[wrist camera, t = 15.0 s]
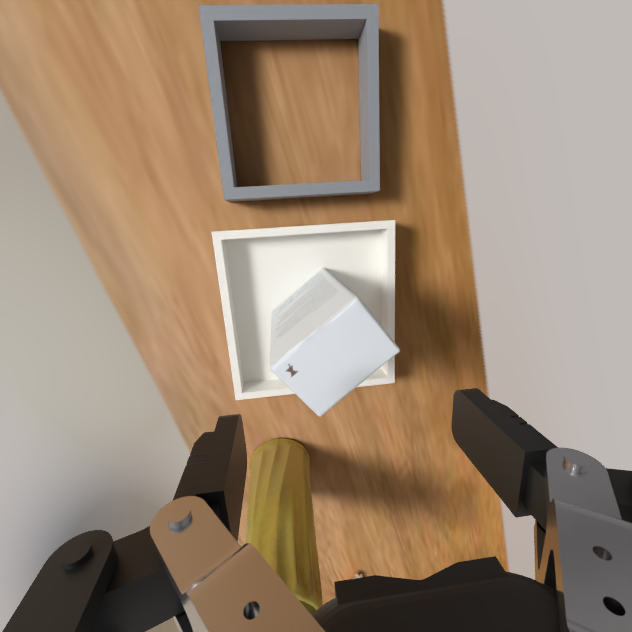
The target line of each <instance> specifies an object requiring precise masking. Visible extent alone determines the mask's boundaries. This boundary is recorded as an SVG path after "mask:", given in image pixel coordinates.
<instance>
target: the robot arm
mask: <svg viewBox="0 0 632 632" xmlns="http://www.w3.org/2000/svg"><path fill="white" fill-rule="evenodd" d="M452 433H453V436H454V439H455V441H456V443H457V444H458V445H459V447H460V448H461V449H462V450H463V452H464V453H465V454H466V455H467V457H468V458H469V459H470V460H471V462H472V463H473V464H474V466H475V467H476V468H477V469H478V471H479V472H480V473H481V474H482V476H483V477H484V478H485V479H486V481H487V482H488V483H489V484H490V486H491V487H492V488H493V489H494V491H495V492H496V493H497V494H498V496H499V497H500V498H501V499H502V501H503V502H504V503H505V504H506V506H507V507H508V508H509V509H510V511H511V512H512V513H513V514H514V516H515V517H522V516H528V515H532V516H533V517H534V518H535V519H536V520H535V526H534V539H535V540H534V543H535V544H534V545H535V580H533V579H531V578H528V577H525V576H522V575H518V574H514V573H510V572H505V570H504V569H503V567H502V566H501V564H500V563H499V561H498V559H497V558H496V556H495V557H489V558H482V559H476V560H470V561H463V562H457V563H455V564H453V565H451V566H449V567H447V568H445V569H443V570H441V571H439V572H438V573H436V574H434V575H432V576H430V577H428V578H426V579H423V580H411V579H402V578H393V577H385V576H376V575H375V576H369V577H362V578H356V579H350V580H344V581H337V582H335V599H333V600H331V601H329V602H327V603H326V604H324V605H323V606H321V607H320V608H318V609H317V610H316V611H315V612H314V613H313V614H312V615H311V614H310V613H309V611H308V610H307V609H306V608H305V607H304V605H303V604H302V603H301V602H300V601H299V599H298V598H297V597H296V596H295V595H294V593H293V592H292V591H291V590H290V589H289V588H288V586H287V585H286V584H285V583H284V582H283V580H282V579H281V578H280V577H279V576H278V574H277V573H276V572H275V571H274V570H273V568H272V567H271V566H270V565H269V564H268V562H267V561H266V560H265V559H264V558H263V557H262V555H261V554H260V553H259V552H258V551H257V549H256V548H255V547H254V546H253V545H252V544H250V543H246V544H245V545H243V546H240V545H239V543H238V542H237V541H238V533H239V525H240V517H241V510H242V502H243V494H244V486H245V478H246V471H247V452H246V444H245V437H244V430H243V423H242V417H241V415H240V414H236V415H227V416H220V417H219V418H218V421H217V425H216V428H215V431H214V432H205V433H203V434H202V436H201V437H200V438H199V439H198V440H197V441H196V442H195V443H194V446H193V448H192V451H191V454H190V457H189V459H188V461H187V466H186V467H185V469H184V472H183V475H182V477H181V480H180V483H179V485H178V488H177V491H176V494H175V496H174V499H173V501H172V502H170V503H168V504H167V505H165V506H164V507H163V508H161V509H160V510H159V512H158V513H157V514H156V515H155V517H154V518H153V520H152V522H151V525H150V526H149V527H147V528H145V529H144V530H141V531H139V532H136V533H134V534H132V535H129V536H126V537H124V538H121V539H119V540H116V541H114V542H113V539H112V537H111V535H110V534H109V533H108V532H106V531H103V530H94V531H88V532H85V533H82V534H80V535H78V536H76V537H74V538H72V539H70V540H69V541H67V542H66V543H64V544H63V545H62V546H60V547H59V548H58V549H57V550H56V551H55V552H54V553H53V554H52V555H51V556H50V557H49V558H48V560H47V561H46V563H45V564H44V566H43V567H42V569H41V570H40V572H39V574H38V575H37V577H36V579H35V580H34V582H33V583H32V585H31V586H30V588H29V590H28V591H27V593H26V595H25V596H24V598H23V599H22V601H21V603H20V605H19V606H18V607H17V609H16V611H15V612H14V614H13V615H12V617H11V619H10V620H9V622H8V624H7V625H6V627H5V628H4V630H3V632H145V631H147V630H149V629H151V628H153V627H155V626H157V625H159V624H161V623H163V622H164V621H167V620H168V619H170V618H172V617H173V619H174V621H175V623H176V625H177V627H178V630H179V632H632V471H626V470H617V469H607V468H605V467H604V466H603V465H602V464H601V463H600V462H599V461H598V460H596V459H595V458H593V457H591V456H589V455H587V454H585V453H583V452H580V451H577V450H574V449H569V448H558V447H556V446H555V445H554V444H553V443H552V442H550V441H549V440H548V439H547V438H545V437H544V436H543V435H542V434H541V433H539V432H538V431H537V430H536V429H534V428H533V427H532V426H531V425H528V424H527V422H526V421H524V420H523V419H522V418H521V417H519V416H518V415H517V414H516V413H515V412H514V411H512V410H511V409H510V408H509V407H507V406H505V405H503V404H501V403H499V402H497V401H495V400H491V399H489V398H488V397H487V396H486V395H485V394H484V393H482V392H481V391H480V390H479V389H477V388H474V389H465V390H457V391H455V393H454V398H453V413H452Z"/></svg>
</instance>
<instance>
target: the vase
mask: <svg viewBox="0 0 632 632" xmlns="http://www.w3.org/2000/svg"><path fill="white" fill-rule="evenodd" d="M310 464H311V462H310V456H309V454H308V452H307V451H306V449H305V448H304V447H303V446H302V445H301V444H300V443H298V442H296V441H294V440H291V439H285V438H279V439H273V440H270V441H268V442H266V443H264V444H262V445H261V446H259V447H258V448H257V449H256V450H255V452H254V453H253V455H252V456H251V459H250V464H249V468H250V486H249V504H248V516H247V532H246V543H250V544H252V545H253V546H254V547H255V548H256V549H257V551H258V552H259V553H260V554H261V555H262V557H263V558H264V559H265V560H266V561H267V562H268V564H269V565H270V566H271V567H272V568H273V570H274V571H275V572H276V573H277V574H278V576H279V577H280V578H281V579H282V580H283V582H284V583H285V584H286V585H287V586H288V588H289V589H290V590H291V591H292V592H293V593H294V595H295V596H296V597H297V598H298V599H299V601H300V602H301V603H302V604H303V605H304V607H305V608H306V609H307V610H308V611H309V613H310V614H311V615H312V614H313V613H314V612H315V611H316V610H317V609H318V608H320V607H321V606H323V605H322V591H321V582H320V572H319V563H318V554H317V546H316V535H315V527H314V515H313V504H312V496H311V479H310ZM246 543H245V544H246Z"/></svg>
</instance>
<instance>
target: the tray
mask: <svg viewBox="0 0 632 632" xmlns="http://www.w3.org/2000/svg"><path fill="white" fill-rule="evenodd" d="M212 238H213V245H214V252H215V259H216V266H217V273H218V280H219V287H220V293H221V300H222V307H223V314H224V321H225V328H226V335H227V342H228V349H229V356H230V363H231V370H232V377H233V384H234V391H235V398H236V400H242V399H251V398H260V397H269V396H278V395H288V394H295V393H294V392H293V391H292V390H291V389H290V388H289V387H288V386H287V385H286V384H285V383H284V382H283V381H281V380H280V379H279V378H278V377H277V376H276V375H275V374H274V373H273V372H272V371H271V370H270V344H271V315H272V311H273V310H274V309H275V308H276V307H277V306H278V305H280V304H281V303H282V302H283V301H284V300H285V299H287V298H288V297H289V296H290V295H291V294H292V293H294V292H295V291H296V290H297V289H298V288H299V287H301V286H302V285H303V284H304V283H305V282H306V281H308V280H309V279H310V278H311V277H312V276H314V275H315V274H316V273H317V272H318V271H319V270H321V269H322V268H325V269H327V270H328V271H329V272H330V273H331V274H332V275H333V276H335V277H336V278H337V279H338V280H339V281H340V282H341V283H342V284H344V285H345V286H346V287H347V288H348V289H349V290H351V291H352V292H353V293H355V294H356V295H357V296H358V297H359V298H360V299H361V300H362V301H363V303H364V304H365V305H366V306H367V308H368V309H369V310H370V311H371V312H372V314H373V315H374V316H375V318H376V319H377V320H378V321H379V323H380V324H381V325H382V326H383V328H384V329H385V330H386V332H387V333H388V334H389V335H390V337H391V338H392V339H393V341H394V342H395V220H384V221H368V222H353V223H337V224H322V225H307V226H291V227H276V228H260V229H245V230H230V231H216V232H212ZM389 383H395V356H394V357H392V358H391V359H390V360H389V361H387V362H386V363H385V364H384V365H382V366H381V367H380V368H379V369H378V370H376V371H375V372H374V373H373V374H371V375H370V376H369V377H368V378H367V379H365V380H364V381H363V382H362V383H361V384H359V385H358V386H357V387H361V386H370V385H379V384H389Z"/></svg>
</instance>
